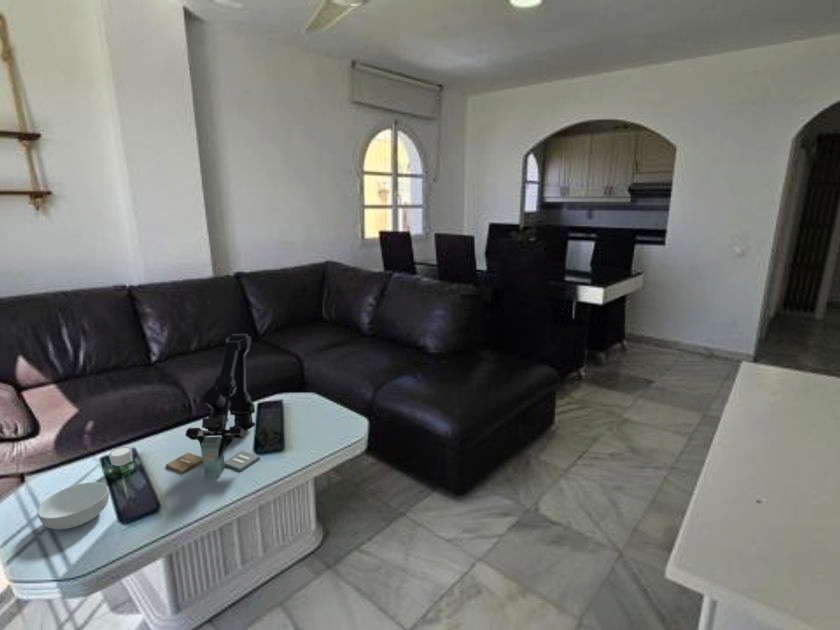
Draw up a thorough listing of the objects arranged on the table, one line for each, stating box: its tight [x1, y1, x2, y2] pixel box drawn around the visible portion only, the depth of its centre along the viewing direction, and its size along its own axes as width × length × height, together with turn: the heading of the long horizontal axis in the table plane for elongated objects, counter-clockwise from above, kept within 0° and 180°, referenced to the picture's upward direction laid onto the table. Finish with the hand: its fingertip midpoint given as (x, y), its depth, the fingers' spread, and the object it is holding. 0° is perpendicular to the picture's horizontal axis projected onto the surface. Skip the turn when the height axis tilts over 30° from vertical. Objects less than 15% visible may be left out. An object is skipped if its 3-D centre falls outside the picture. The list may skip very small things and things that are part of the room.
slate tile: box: [224, 450, 261, 472], centre depth 167 cm, size 9×9×1 cm
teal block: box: [200, 436, 226, 478], centre depth 159 cm, size 5×5×12 cm
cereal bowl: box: [37, 481, 110, 530], centre depth 136 cm, size 17×17×7 cm
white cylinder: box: [108, 446, 133, 466], centre depth 162 cm, size 7×7×7 cm
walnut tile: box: [165, 452, 203, 474], centre depth 165 cm, size 9×9×1 cm
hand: (211, 457), depth 157 cm, fingers closed on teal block, 5 cm apart
